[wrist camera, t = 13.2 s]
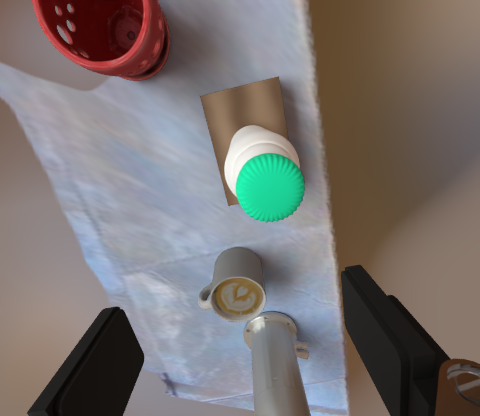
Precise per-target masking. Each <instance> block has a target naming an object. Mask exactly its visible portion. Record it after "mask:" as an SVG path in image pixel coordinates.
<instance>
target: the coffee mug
mask: <svg viewBox="0 0 480 416" xmlns="http://www.w3.org/2000/svg"><path fill="white" fill-rule="evenodd" d="M209 295H210V299H208V300H207V298H208V296H209ZM198 301H199V305H200V306H201V308H202V309H205V310H207V309H211V308H212V309H213V311H214V312H215V313H216V314H217V315H218V316H219V317H221V318H223V319H225V320H227V321H231V322H245V321H249V320H251V319H253V318H255V317H257V316H258V315H259V314H260V313H261V312H262V311H263V309H264V307H265V304H266V292H265V286H264V279H263V272H262V266H261V261H260V259H259V257H258V256H257V255H256V254H255V253H254V252H253V251H251V250H249V249H247V248H243V247H233V248H230V249H227V250H225V251H223V252H222V253H221V254H220V255H219V256H218V258H217V260H216V262H215V268H214V274H213V280H212V283H211V284H209V285H208V286H206V287H205V288H204V289H203V290H202V291H201V293H200V295H199V300H198Z"/></svg>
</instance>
